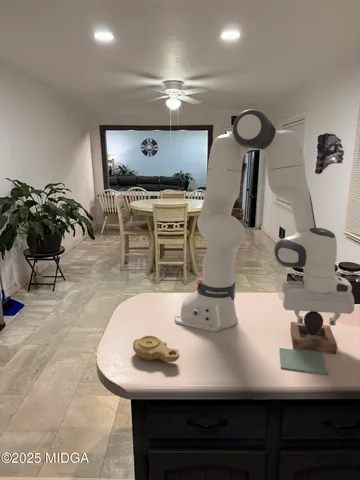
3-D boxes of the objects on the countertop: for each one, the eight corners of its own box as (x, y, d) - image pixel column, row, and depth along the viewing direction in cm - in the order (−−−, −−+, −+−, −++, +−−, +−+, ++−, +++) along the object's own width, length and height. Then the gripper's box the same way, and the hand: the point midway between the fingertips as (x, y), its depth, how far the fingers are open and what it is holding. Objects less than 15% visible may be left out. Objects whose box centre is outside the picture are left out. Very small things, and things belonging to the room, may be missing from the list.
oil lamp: (178, 369, 90) (178, 353, 88) (127, 367, 91) (126, 351, 90) (181, 348, 100) (181, 333, 99) (135, 346, 101) (135, 332, 100)
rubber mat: (280, 368, 90) (280, 367, 89) (279, 348, 99) (279, 347, 99) (328, 375, 87) (328, 373, 86) (322, 354, 96) (322, 353, 96)
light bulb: (299, 337, 106) (301, 308, 103) (315, 336, 106) (318, 307, 104) (307, 346, 100) (309, 316, 98) (324, 345, 101) (327, 315, 98)
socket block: (293, 348, 99) (293, 339, 98) (290, 329, 110) (290, 321, 110) (336, 354, 96) (337, 345, 95) (328, 334, 107) (329, 325, 107)
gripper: (283, 284, 98) (281, 325, 101) (358, 287, 94) (353, 331, 97) (281, 276, 104) (280, 316, 107) (352, 279, 100) (348, 321, 103)
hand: (315, 323), depth 102 cm, fingers open, 8 cm apart
